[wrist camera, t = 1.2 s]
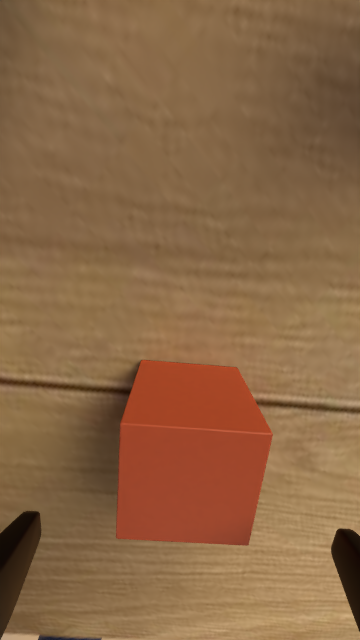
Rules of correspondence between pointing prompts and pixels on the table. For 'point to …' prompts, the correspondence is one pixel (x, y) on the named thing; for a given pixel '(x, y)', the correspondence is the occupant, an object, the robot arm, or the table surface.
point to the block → (190, 455)
